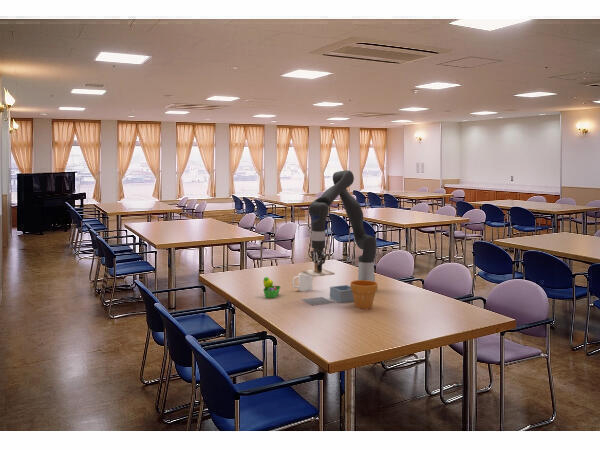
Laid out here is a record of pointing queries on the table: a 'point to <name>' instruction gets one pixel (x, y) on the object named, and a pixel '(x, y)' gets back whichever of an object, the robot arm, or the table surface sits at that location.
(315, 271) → the lid
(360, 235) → the robot arm
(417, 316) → the table surface
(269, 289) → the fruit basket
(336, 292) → the blue gray open box
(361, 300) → the flower pot
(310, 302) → the mat
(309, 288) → the cup
